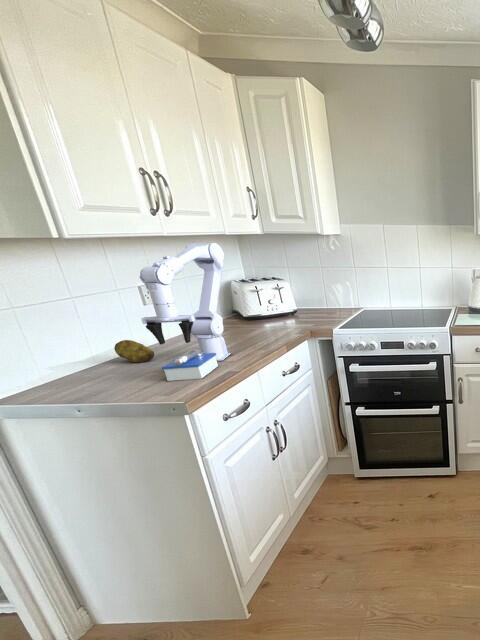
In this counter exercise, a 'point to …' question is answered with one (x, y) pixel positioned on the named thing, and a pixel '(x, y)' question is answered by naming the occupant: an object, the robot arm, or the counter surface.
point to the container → (191, 368)
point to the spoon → (188, 357)
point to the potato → (133, 351)
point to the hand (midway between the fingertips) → (175, 343)
